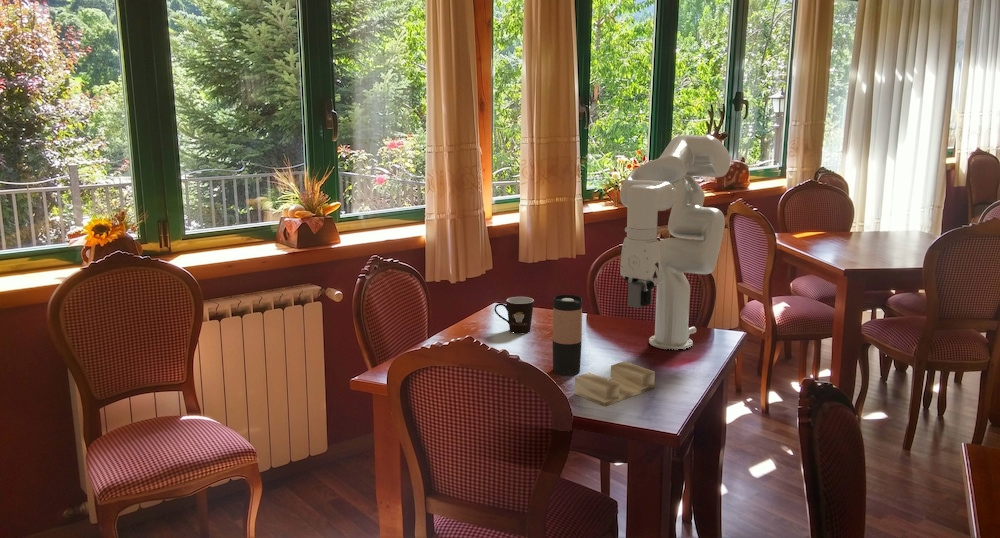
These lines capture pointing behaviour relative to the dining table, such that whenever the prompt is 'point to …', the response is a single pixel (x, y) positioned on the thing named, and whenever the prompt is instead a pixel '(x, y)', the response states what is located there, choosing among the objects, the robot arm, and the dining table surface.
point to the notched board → (615, 383)
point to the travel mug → (567, 334)
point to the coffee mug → (518, 313)
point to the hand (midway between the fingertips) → (640, 302)
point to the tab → (635, 294)
